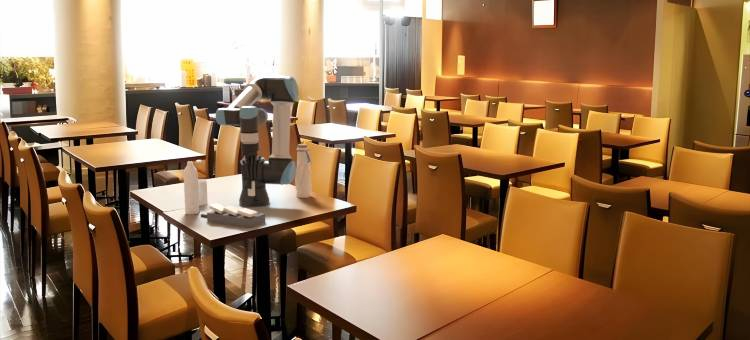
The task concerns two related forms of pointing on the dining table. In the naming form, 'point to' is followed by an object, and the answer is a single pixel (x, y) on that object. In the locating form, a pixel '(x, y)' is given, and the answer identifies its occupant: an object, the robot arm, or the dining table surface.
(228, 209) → the rocker
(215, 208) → the rocker
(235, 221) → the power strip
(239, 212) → the rocker
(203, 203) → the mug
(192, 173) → the water bottle
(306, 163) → the water bottle
